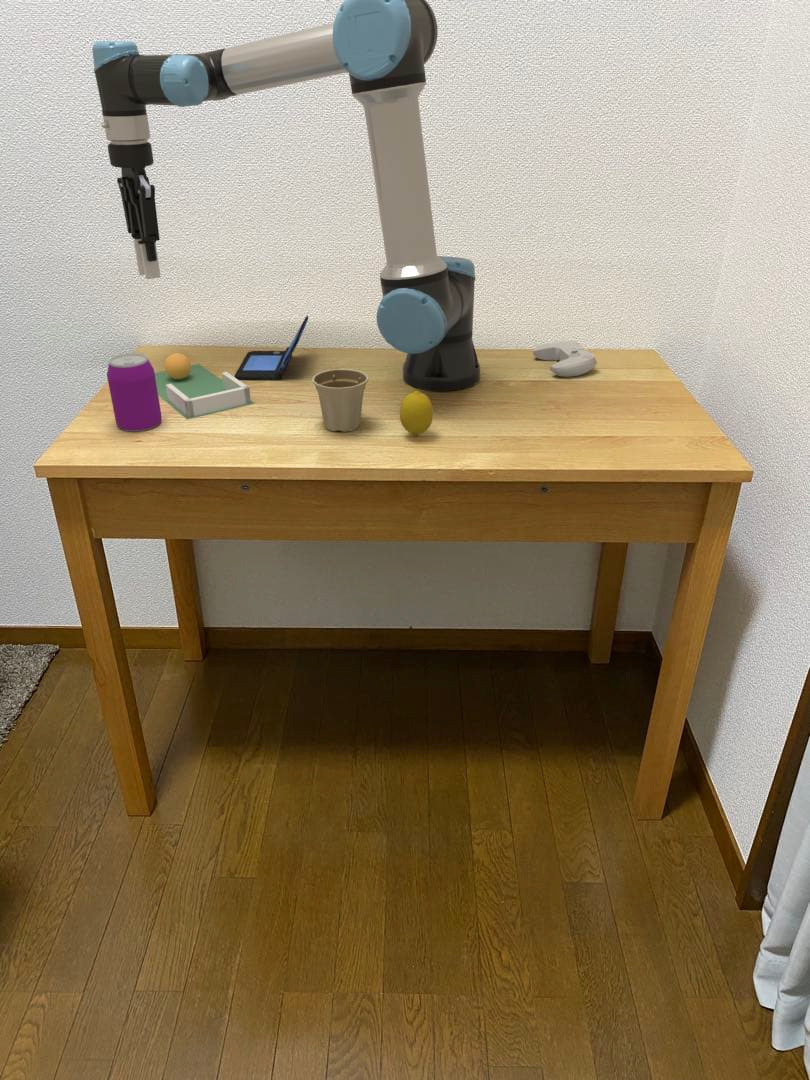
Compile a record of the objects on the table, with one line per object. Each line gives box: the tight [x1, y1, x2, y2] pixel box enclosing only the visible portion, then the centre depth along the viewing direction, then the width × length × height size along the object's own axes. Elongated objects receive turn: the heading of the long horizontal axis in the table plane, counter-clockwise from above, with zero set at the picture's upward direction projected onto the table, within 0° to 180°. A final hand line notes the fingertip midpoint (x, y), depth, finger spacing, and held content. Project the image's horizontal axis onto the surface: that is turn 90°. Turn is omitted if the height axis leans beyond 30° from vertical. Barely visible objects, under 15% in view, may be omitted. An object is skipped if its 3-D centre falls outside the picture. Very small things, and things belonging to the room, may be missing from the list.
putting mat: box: [155, 363, 255, 420], centre depth 162 cm, size 26×13×1 cm, turn 34°
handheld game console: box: [234, 315, 309, 382], centre depth 170 cm, size 16×13×9 cm
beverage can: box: [106, 352, 163, 432], centre depth 145 cm, size 8×8×12 cm
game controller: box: [532, 340, 598, 378], centre depth 172 cm, size 14×4×10 cm
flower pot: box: [311, 368, 369, 433], centre depth 145 cm, size 9×9×9 cm
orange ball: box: [164, 352, 192, 380], centre depth 165 cm, size 5×5×5 cm
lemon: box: [399, 390, 434, 437], centre depth 142 cm, size 6×6×8 cm
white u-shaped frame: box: [166, 371, 252, 418], centre depth 155 cm, size 10×12×3 cm
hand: (149, 275), depth 163 cm, fingers open, 3 cm apart
